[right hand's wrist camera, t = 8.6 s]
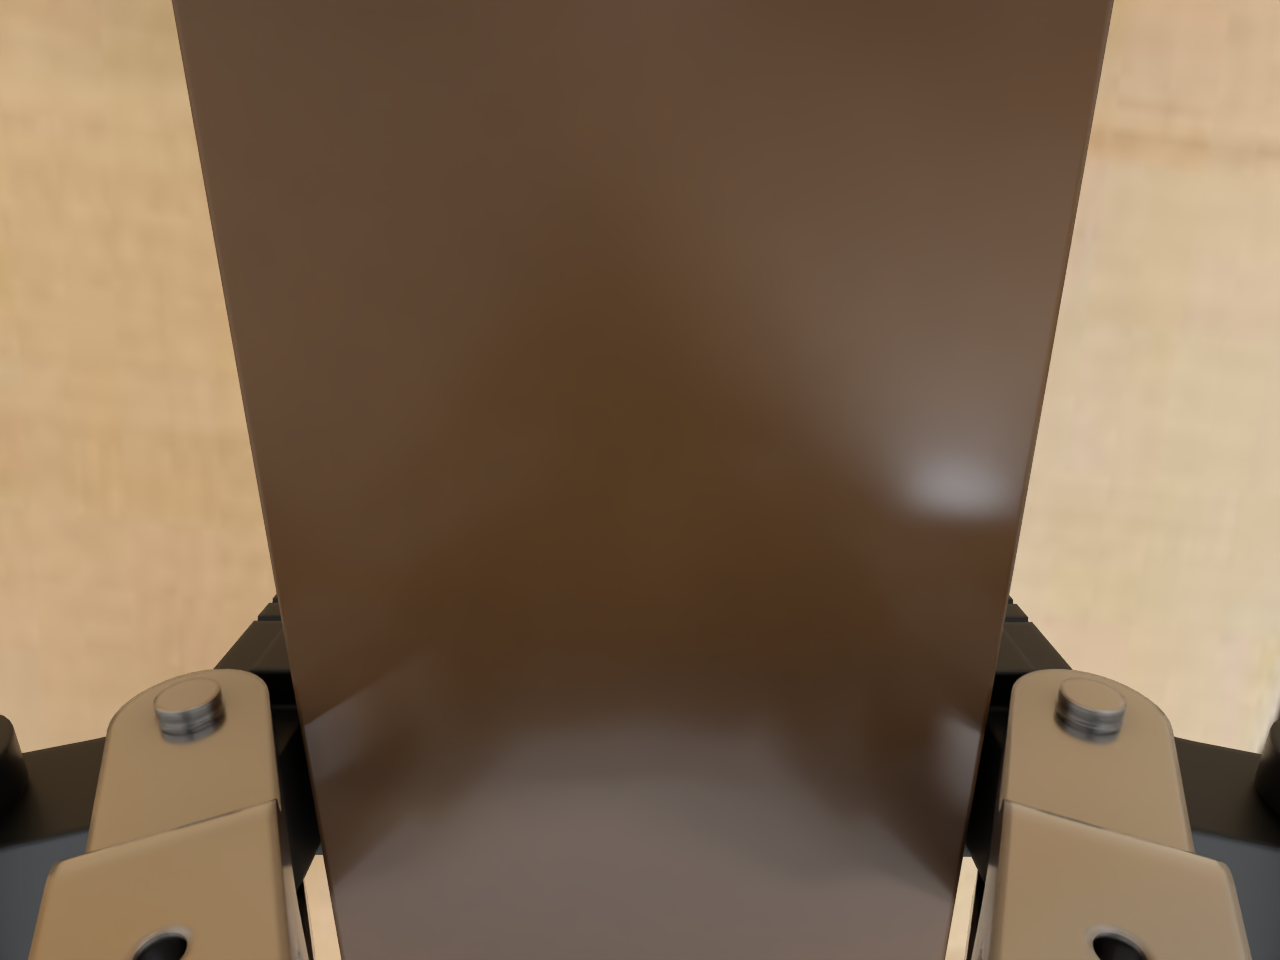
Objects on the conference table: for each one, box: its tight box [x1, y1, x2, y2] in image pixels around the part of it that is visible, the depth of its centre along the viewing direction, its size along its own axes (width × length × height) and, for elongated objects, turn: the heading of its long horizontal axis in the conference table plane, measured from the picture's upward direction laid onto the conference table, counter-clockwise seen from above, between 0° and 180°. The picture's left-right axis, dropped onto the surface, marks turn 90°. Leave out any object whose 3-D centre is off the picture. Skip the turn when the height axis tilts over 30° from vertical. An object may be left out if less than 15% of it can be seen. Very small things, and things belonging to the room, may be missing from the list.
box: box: [172, 0, 1114, 960], centre depth 10 cm, size 22×6×12 cm, turn 0°
